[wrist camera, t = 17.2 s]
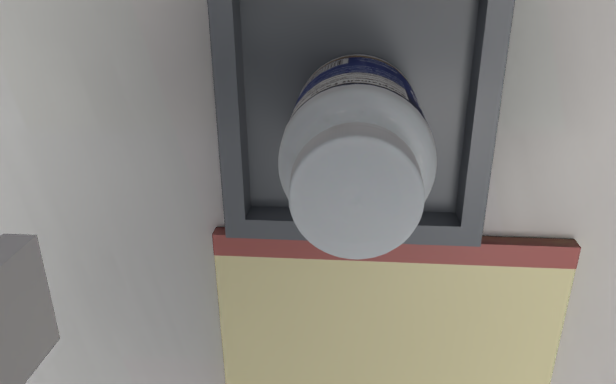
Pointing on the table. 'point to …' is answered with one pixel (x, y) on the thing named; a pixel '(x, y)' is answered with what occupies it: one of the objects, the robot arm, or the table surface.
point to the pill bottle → (357, 158)
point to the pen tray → (369, 41)
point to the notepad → (393, 312)
